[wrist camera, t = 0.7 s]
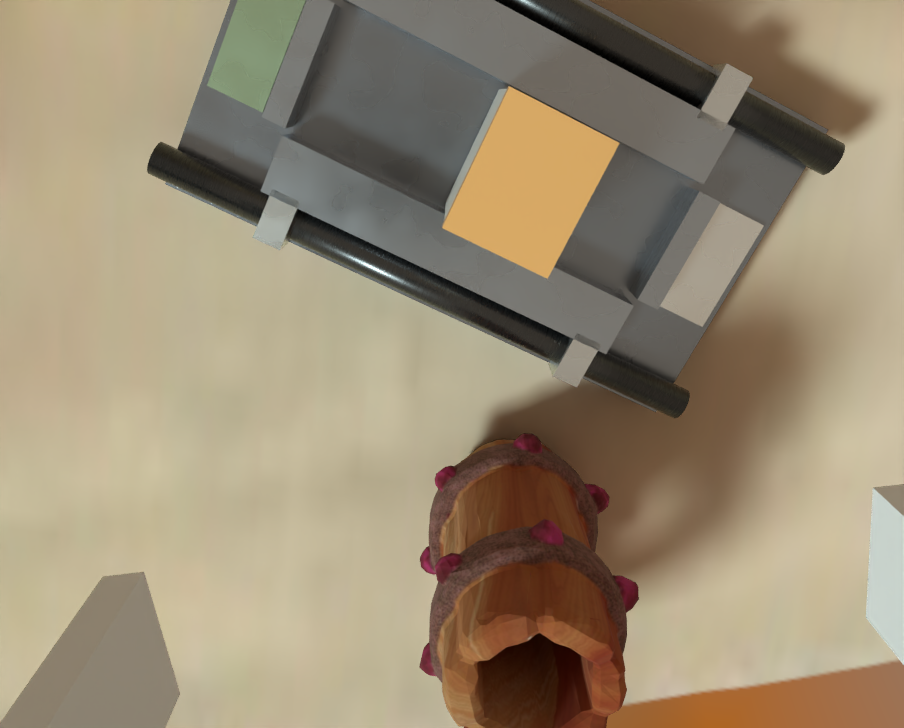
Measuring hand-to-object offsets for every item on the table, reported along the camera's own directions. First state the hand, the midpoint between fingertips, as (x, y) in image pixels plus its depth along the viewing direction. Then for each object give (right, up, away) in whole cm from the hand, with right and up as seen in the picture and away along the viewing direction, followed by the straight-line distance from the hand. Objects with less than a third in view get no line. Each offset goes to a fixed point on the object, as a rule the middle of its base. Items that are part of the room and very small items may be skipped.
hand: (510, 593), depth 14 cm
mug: (+1, -5, +27) cm, 27 cm away
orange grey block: (+2, +12, +19) cm, 23 cm away
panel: (+1, +13, +20) cm, 24 cm away
